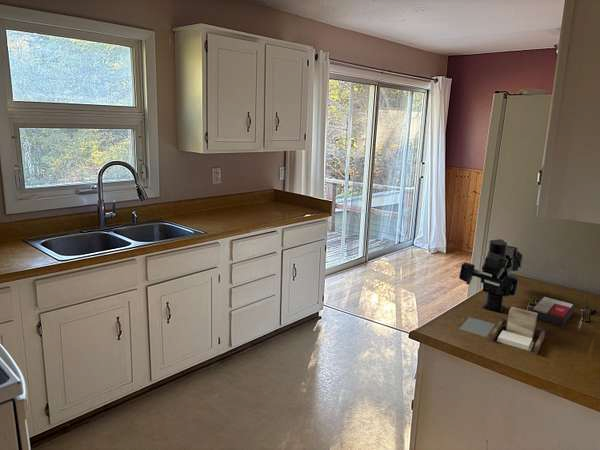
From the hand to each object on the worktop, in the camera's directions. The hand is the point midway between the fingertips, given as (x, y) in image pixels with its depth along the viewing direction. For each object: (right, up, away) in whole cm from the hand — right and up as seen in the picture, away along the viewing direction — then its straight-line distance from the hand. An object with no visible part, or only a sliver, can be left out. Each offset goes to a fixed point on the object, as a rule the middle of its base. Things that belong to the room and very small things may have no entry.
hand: (481, 287), depth 152 cm
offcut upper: (+9, -17, -3) cm, 20 cm away
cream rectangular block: (+13, -17, +2) cm, 21 cm away
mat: (+1, -15, +7) cm, 17 cm away
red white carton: (+34, -13, +20) cm, 42 cm away
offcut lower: (+10, -19, -3) cm, 21 cm away
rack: (+12, -17, -1) cm, 21 cm away
